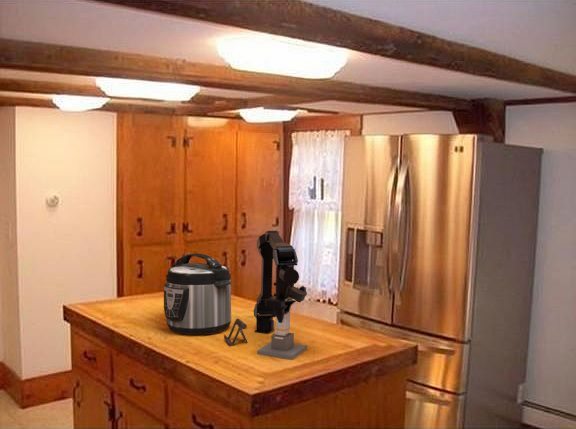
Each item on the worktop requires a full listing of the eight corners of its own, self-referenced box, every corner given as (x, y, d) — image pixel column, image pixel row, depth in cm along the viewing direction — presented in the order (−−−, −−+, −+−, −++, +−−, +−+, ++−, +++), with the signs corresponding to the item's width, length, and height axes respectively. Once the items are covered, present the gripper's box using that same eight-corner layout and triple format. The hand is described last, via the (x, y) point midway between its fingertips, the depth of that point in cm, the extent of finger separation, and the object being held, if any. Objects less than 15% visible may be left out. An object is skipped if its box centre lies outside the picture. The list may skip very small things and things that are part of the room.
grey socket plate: (257, 354, 214) (257, 336, 213) (273, 344, 227) (273, 327, 226) (292, 359, 208) (292, 341, 208) (306, 349, 221) (307, 332, 221)
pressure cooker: (160, 321, 258) (160, 249, 255) (223, 317, 266) (224, 248, 264) (167, 340, 229) (167, 260, 227) (237, 335, 238) (238, 258, 235)
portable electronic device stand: (223, 340, 231) (223, 319, 231) (242, 338, 234) (243, 317, 233) (229, 346, 223) (229, 324, 222) (249, 344, 226) (249, 323, 225)
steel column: (275, 337, 216) (275, 312, 215) (279, 335, 220) (280, 310, 219) (285, 339, 214) (285, 314, 214) (289, 336, 218) (290, 311, 217)
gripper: (293, 286, 204) (293, 330, 205) (313, 277, 221) (312, 318, 222) (264, 283, 208) (264, 326, 209) (286, 274, 225) (285, 314, 226)
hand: (282, 321), depth 217 cm, fingers closed on steel column, 4 cm apart
